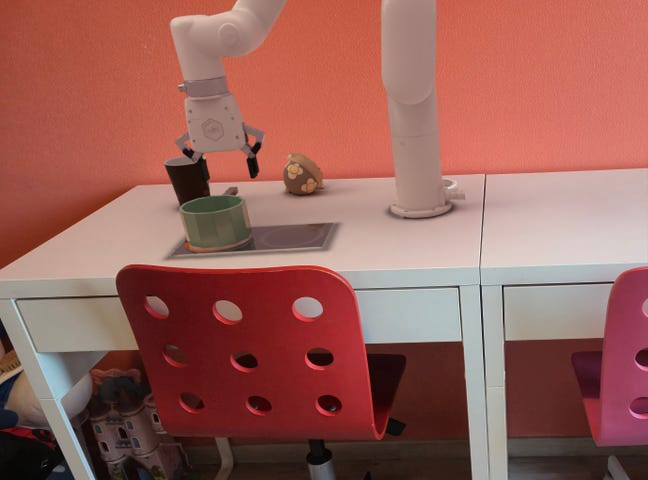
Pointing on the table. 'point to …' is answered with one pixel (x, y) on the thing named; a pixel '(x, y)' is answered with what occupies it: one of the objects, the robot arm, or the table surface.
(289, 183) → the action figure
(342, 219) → the table surface
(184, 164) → the coffee mug
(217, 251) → the hob
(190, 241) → the saucepan
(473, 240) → the table surface
